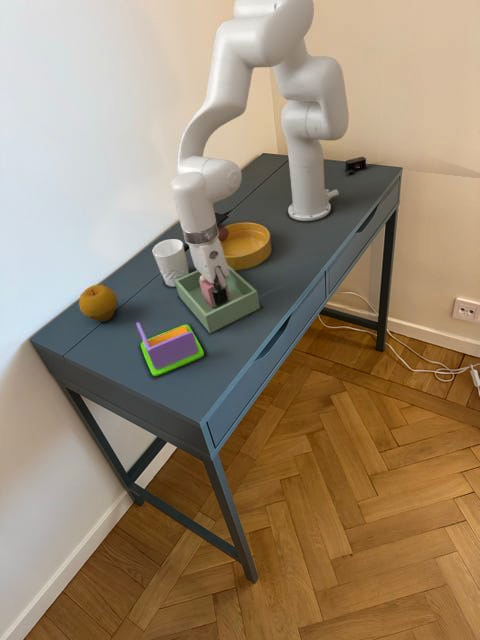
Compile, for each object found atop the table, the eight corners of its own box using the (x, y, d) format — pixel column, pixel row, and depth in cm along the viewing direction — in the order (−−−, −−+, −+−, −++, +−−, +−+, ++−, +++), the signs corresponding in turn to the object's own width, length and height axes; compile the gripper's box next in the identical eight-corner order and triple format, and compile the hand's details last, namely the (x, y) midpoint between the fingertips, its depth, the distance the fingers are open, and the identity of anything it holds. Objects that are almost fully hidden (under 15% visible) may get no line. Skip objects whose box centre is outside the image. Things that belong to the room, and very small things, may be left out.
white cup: (196, 271, 123) (187, 239, 117) (184, 289, 118) (175, 257, 111) (170, 269, 126) (160, 238, 119) (158, 287, 121) (146, 255, 114)
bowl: (251, 229, 135) (249, 215, 132) (284, 253, 123) (282, 239, 120) (199, 252, 130) (196, 238, 127) (228, 279, 118) (225, 265, 115)
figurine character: (185, 240, 139) (220, 248, 129) (176, 218, 134) (212, 223, 125) (200, 230, 142) (235, 236, 133) (192, 207, 138) (228, 212, 128)
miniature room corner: (153, 378, 96) (143, 355, 92) (139, 344, 105) (130, 322, 100) (206, 356, 98) (199, 333, 94) (188, 324, 107) (181, 302, 103)
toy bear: (221, 290, 113) (213, 256, 107) (230, 299, 110) (222, 264, 104) (202, 299, 112) (193, 265, 105) (210, 308, 109) (201, 274, 102)
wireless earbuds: (342, 170, 154) (342, 161, 152) (363, 165, 155) (363, 156, 153) (348, 176, 151) (348, 166, 149) (368, 170, 151) (369, 161, 149)
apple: (87, 311, 118) (73, 284, 112) (121, 301, 118) (109, 273, 113) (88, 333, 111) (73, 305, 105) (124, 322, 112) (111, 293, 106)
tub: (225, 275, 120) (221, 259, 117) (260, 308, 108) (257, 291, 104) (179, 296, 116) (174, 280, 113) (210, 333, 104) (205, 316, 100)
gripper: (234, 239, 94) (247, 307, 106) (199, 211, 106) (214, 275, 118) (202, 254, 92) (219, 321, 104) (169, 223, 104) (188, 287, 116)
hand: (216, 296), depth 111 cm, fingers closed on toy bear, 4 cm apart
